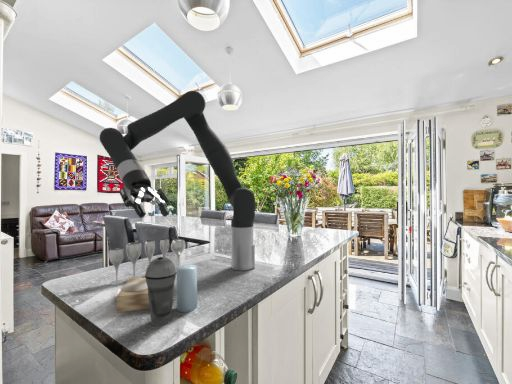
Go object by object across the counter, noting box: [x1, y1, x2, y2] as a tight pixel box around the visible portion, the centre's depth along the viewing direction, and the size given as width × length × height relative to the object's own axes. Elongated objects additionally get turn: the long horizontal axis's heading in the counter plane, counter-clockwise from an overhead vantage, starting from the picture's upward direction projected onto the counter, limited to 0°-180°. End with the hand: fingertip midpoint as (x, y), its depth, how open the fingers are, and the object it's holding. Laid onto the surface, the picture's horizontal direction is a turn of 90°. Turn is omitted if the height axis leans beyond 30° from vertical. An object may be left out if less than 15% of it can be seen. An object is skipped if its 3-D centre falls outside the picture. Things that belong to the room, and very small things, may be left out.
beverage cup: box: [144, 238, 177, 327], centre depth 62 cm, size 7×7×20 cm
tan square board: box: [115, 277, 150, 313], centre depth 75 cm, size 12×14×4 cm
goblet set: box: [108, 238, 186, 286], centre depth 97 cm, size 28×6×13 cm, turn 131°
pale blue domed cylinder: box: [176, 264, 198, 313], centre depth 69 cm, size 5×5×11 cm
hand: (155, 215), depth 76 cm, fingers open, 8 cm apart
